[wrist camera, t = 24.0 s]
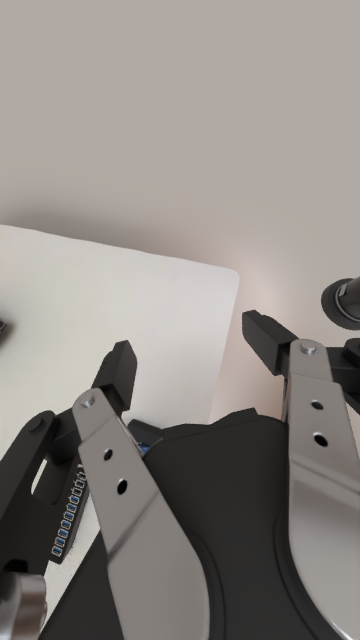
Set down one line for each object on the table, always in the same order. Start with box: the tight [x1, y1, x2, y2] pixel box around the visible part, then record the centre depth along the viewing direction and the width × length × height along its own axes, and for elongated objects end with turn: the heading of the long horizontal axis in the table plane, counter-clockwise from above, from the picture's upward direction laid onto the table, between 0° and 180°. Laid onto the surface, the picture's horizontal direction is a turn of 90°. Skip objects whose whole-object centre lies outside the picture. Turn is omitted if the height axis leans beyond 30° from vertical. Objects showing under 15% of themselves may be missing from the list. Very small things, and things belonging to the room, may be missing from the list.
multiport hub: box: [49, 458, 90, 564], centre depth 29 cm, size 4×14×2 cm, turn 166°
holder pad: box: [127, 419, 163, 446], centre depth 30 cm, size 10×10×3 cm
